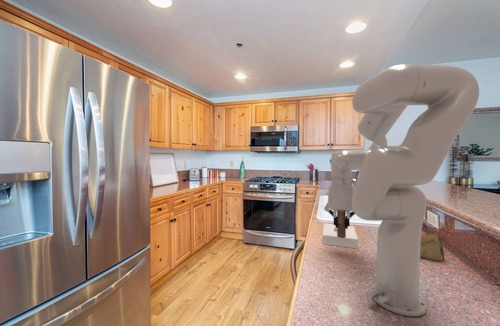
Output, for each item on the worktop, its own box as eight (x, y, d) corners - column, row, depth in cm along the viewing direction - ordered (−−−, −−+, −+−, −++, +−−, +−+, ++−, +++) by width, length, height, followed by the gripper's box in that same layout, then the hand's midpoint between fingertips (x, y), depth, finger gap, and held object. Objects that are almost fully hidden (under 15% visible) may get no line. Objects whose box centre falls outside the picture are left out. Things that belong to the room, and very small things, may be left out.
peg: (341, 238, 86) (341, 210, 85) (335, 235, 88) (335, 208, 88) (347, 237, 87) (347, 209, 87) (341, 234, 90) (341, 208, 90)
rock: (404, 251, 84) (438, 257, 76) (406, 230, 88) (438, 233, 80) (414, 261, 89) (446, 268, 81) (415, 241, 92) (446, 245, 85)
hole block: (357, 248, 91) (357, 239, 91) (322, 244, 96) (322, 235, 96) (353, 234, 108) (353, 226, 108) (324, 230, 113) (324, 223, 113)
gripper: (363, 181, 88) (363, 227, 88) (320, 180, 94) (320, 223, 94) (365, 183, 81) (365, 232, 81) (319, 182, 87) (319, 228, 87)
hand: (341, 227), depth 88 cm, fingers closed on peg, 3 cm apart
